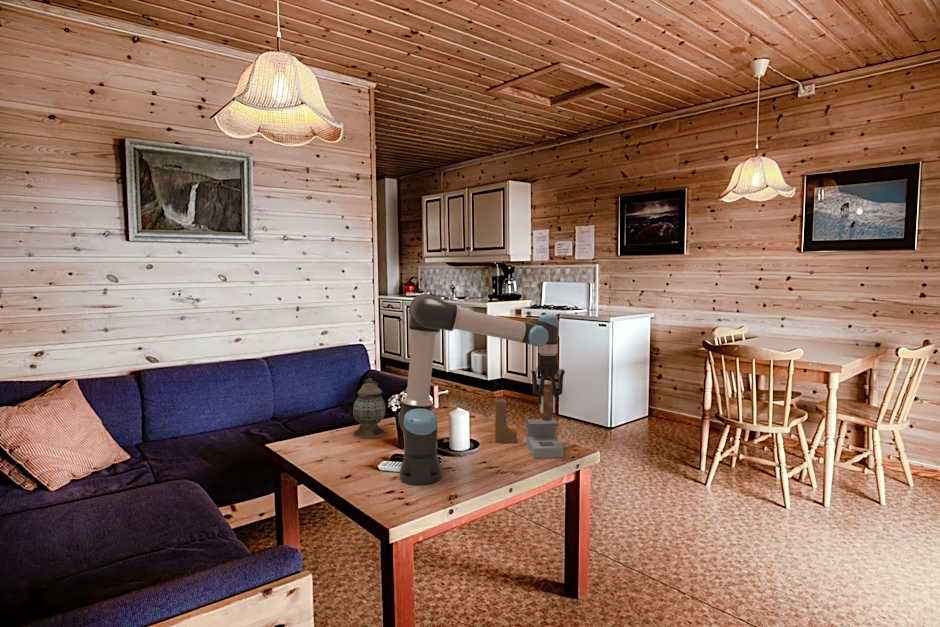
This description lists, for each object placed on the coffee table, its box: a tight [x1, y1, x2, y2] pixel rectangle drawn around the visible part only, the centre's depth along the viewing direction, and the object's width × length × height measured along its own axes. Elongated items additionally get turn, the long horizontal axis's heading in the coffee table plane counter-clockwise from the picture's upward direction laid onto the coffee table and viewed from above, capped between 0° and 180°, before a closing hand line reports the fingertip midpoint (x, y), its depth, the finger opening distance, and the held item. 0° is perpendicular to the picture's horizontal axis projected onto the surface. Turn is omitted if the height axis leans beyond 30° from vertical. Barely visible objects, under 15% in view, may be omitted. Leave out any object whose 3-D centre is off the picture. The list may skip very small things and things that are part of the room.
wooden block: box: [494, 398, 518, 444], centre depth 243 cm, size 9×4×18 cm, turn 89°
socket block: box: [525, 418, 565, 459], centre depth 231 cm, size 12×16×11 cm
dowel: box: [541, 383, 554, 421], centre depth 227 cm, size 4×4×14 cm
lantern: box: [352, 377, 386, 439], centre depth 253 cm, size 14×14×25 cm
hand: (547, 411), depth 227 cm, fingers closed on dowel, 4 cm apart
